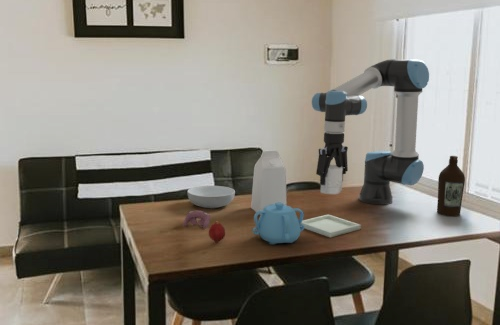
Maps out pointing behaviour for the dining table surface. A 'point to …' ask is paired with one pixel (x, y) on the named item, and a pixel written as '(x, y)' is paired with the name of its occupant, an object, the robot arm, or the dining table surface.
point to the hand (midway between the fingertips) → (331, 191)
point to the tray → (330, 225)
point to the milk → (268, 181)
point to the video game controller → (197, 214)
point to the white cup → (334, 179)
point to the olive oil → (450, 189)
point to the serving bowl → (211, 196)
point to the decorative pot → (278, 223)
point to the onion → (216, 232)
